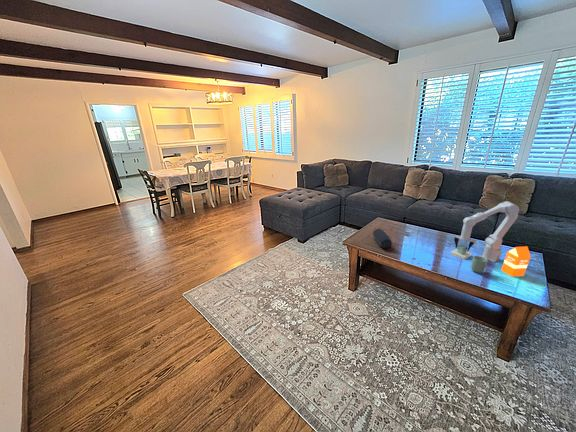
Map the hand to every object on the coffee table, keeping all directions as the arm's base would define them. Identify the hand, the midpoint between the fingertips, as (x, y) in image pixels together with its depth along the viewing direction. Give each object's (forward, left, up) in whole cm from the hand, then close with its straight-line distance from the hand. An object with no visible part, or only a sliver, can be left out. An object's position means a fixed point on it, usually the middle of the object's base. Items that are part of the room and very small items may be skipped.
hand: (462, 248), depth 184 cm
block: (0, 0, -3) cm, 3 cm away
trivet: (0, 0, -6) cm, 6 cm away
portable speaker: (+46, +36, -6) cm, 59 cm away
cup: (-18, +15, -6) cm, 24 cm away
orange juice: (-31, -3, -6) cm, 32 cm away
